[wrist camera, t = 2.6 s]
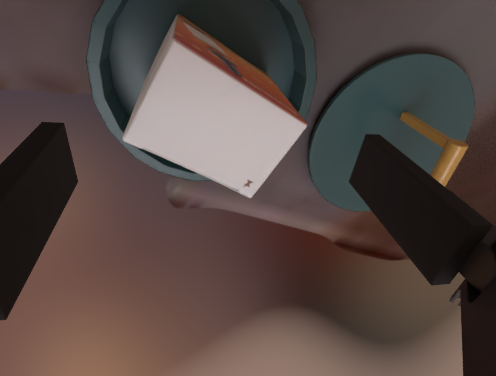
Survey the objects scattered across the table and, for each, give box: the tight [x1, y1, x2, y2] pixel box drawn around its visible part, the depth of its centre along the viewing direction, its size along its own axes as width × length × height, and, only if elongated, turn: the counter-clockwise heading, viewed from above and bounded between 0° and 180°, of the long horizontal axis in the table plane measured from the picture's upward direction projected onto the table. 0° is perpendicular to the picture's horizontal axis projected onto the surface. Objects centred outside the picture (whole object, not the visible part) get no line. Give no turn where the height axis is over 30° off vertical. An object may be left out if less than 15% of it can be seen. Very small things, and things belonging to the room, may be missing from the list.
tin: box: [86, 0, 317, 181], centre depth 22 cm, size 16×16×3 cm
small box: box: [122, 14, 307, 198], centre depth 19 cm, size 8×6×10 cm
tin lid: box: [308, 53, 474, 211], centre depth 27 cm, size 17×17×8 cm
